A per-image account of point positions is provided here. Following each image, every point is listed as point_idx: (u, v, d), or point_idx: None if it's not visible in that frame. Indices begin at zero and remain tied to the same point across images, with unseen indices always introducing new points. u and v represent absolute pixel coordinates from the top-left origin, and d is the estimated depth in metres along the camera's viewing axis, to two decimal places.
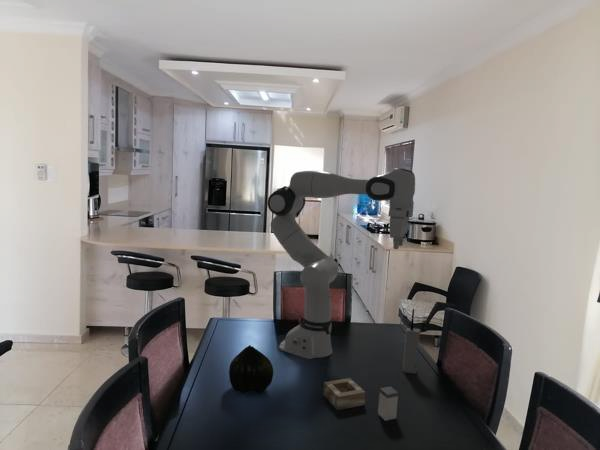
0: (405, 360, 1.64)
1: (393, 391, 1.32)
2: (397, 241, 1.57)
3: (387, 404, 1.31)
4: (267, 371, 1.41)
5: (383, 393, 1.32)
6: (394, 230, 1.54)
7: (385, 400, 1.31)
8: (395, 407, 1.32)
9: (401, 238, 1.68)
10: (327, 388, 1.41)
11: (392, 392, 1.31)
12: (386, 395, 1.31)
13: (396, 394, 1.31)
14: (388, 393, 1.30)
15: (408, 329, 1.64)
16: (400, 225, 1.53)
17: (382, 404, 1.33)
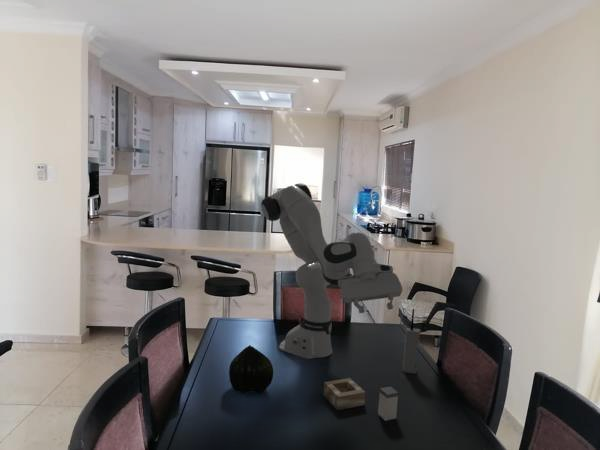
0: (405, 360, 1.64)
1: (393, 391, 1.32)
2: None
3: (387, 404, 1.31)
4: (267, 371, 1.41)
5: (383, 393, 1.32)
6: None
7: (385, 400, 1.31)
8: (395, 407, 1.32)
9: None
10: (327, 388, 1.41)
11: (392, 392, 1.31)
12: (386, 395, 1.31)
13: (396, 394, 1.31)
14: (388, 393, 1.30)
15: (408, 329, 1.64)
16: None
17: (382, 404, 1.33)
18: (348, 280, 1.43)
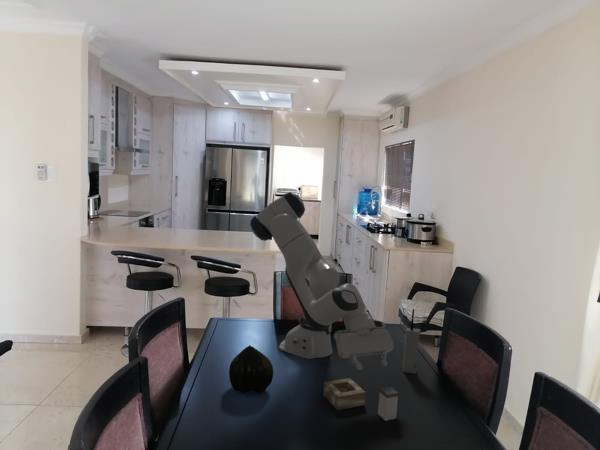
0: (405, 360, 1.64)
1: (393, 391, 1.32)
2: None
3: (387, 404, 1.31)
4: (267, 371, 1.41)
5: (383, 393, 1.32)
6: None
7: (385, 400, 1.31)
8: (395, 407, 1.32)
9: None
10: (327, 388, 1.41)
11: (392, 392, 1.31)
12: (386, 395, 1.31)
13: (396, 394, 1.31)
14: (388, 393, 1.30)
15: (408, 329, 1.64)
16: None
17: (382, 404, 1.33)
18: (345, 335, 1.42)
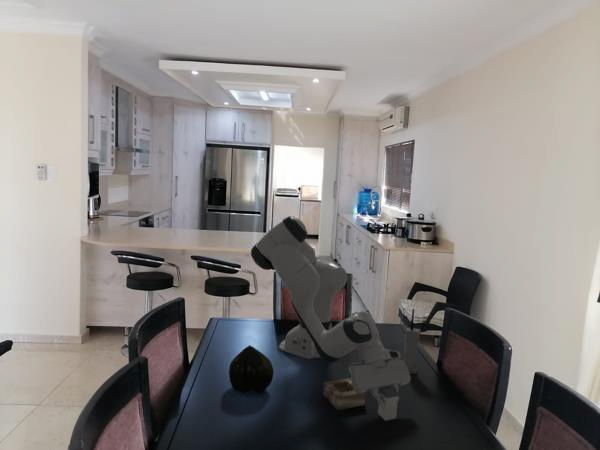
0: (405, 360, 1.64)
1: (393, 391, 1.32)
2: None
3: (387, 404, 1.31)
4: (267, 371, 1.41)
5: (383, 393, 1.32)
6: None
7: (385, 400, 1.31)
8: (395, 407, 1.32)
9: None
10: (327, 388, 1.41)
11: (392, 392, 1.31)
12: (386, 395, 1.31)
13: (396, 394, 1.31)
14: (388, 393, 1.30)
15: (408, 329, 1.64)
16: None
17: (382, 404, 1.33)
18: (360, 368, 1.35)
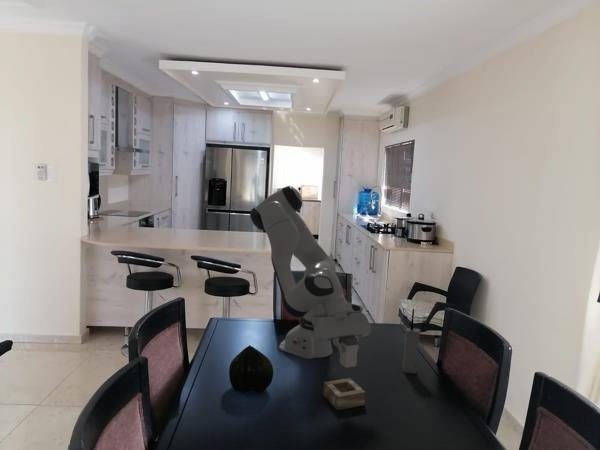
0: (405, 360, 1.64)
1: (353, 340, 1.39)
2: None
3: (347, 352, 1.37)
4: (267, 371, 1.41)
5: (344, 342, 1.39)
6: None
7: (346, 348, 1.38)
8: (355, 355, 1.39)
9: None
10: (327, 388, 1.41)
11: (352, 341, 1.38)
12: (346, 343, 1.37)
13: (356, 342, 1.38)
14: (348, 342, 1.37)
15: (408, 329, 1.64)
16: None
17: (343, 352, 1.39)
18: (323, 319, 1.41)
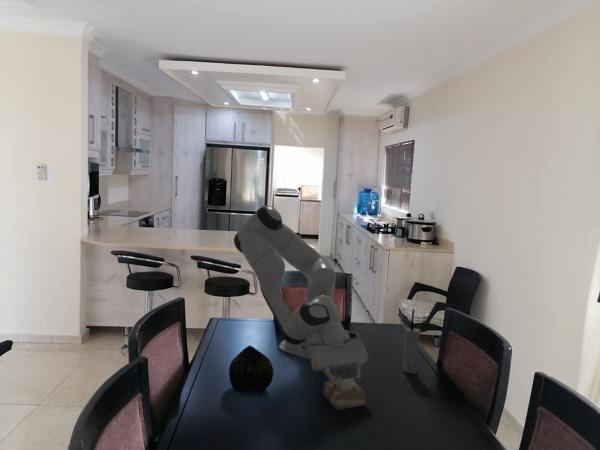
0: (405, 360, 1.64)
1: (349, 373, 1.40)
2: None
3: (343, 386, 1.39)
4: (267, 371, 1.41)
5: (340, 375, 1.40)
6: None
7: (341, 381, 1.39)
8: (351, 388, 1.40)
9: None
10: (327, 388, 1.41)
11: (348, 374, 1.40)
12: (342, 377, 1.39)
13: (352, 376, 1.40)
14: (344, 375, 1.39)
15: (408, 329, 1.64)
16: None
17: (339, 385, 1.41)
18: (319, 347, 1.43)
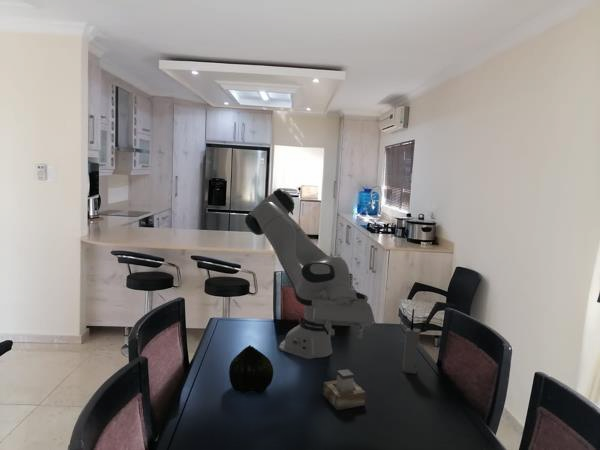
0: (405, 360, 1.64)
1: (349, 373, 1.40)
2: None
3: (343, 386, 1.39)
4: (267, 371, 1.41)
5: (340, 375, 1.40)
6: None
7: (341, 381, 1.39)
8: (351, 388, 1.40)
9: None
10: (327, 388, 1.41)
11: (348, 374, 1.40)
12: (342, 377, 1.39)
13: (352, 376, 1.40)
14: (344, 375, 1.39)
15: (408, 329, 1.64)
16: None
17: (339, 385, 1.41)
18: (323, 301, 1.40)
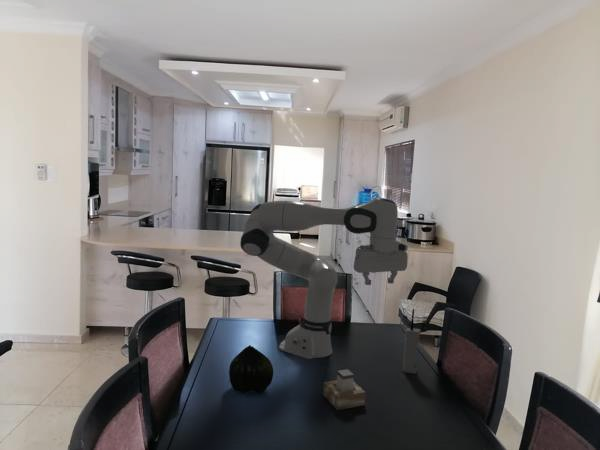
0: (405, 360, 1.64)
1: (349, 373, 1.40)
2: None
3: (343, 386, 1.39)
4: (267, 371, 1.41)
5: (340, 375, 1.40)
6: None
7: (341, 381, 1.39)
8: (351, 388, 1.40)
9: None
10: (327, 388, 1.41)
11: (348, 374, 1.40)
12: (342, 377, 1.39)
13: (352, 376, 1.40)
14: (344, 375, 1.39)
15: (408, 329, 1.64)
16: None
17: (339, 385, 1.41)
18: (367, 253, 1.43)
